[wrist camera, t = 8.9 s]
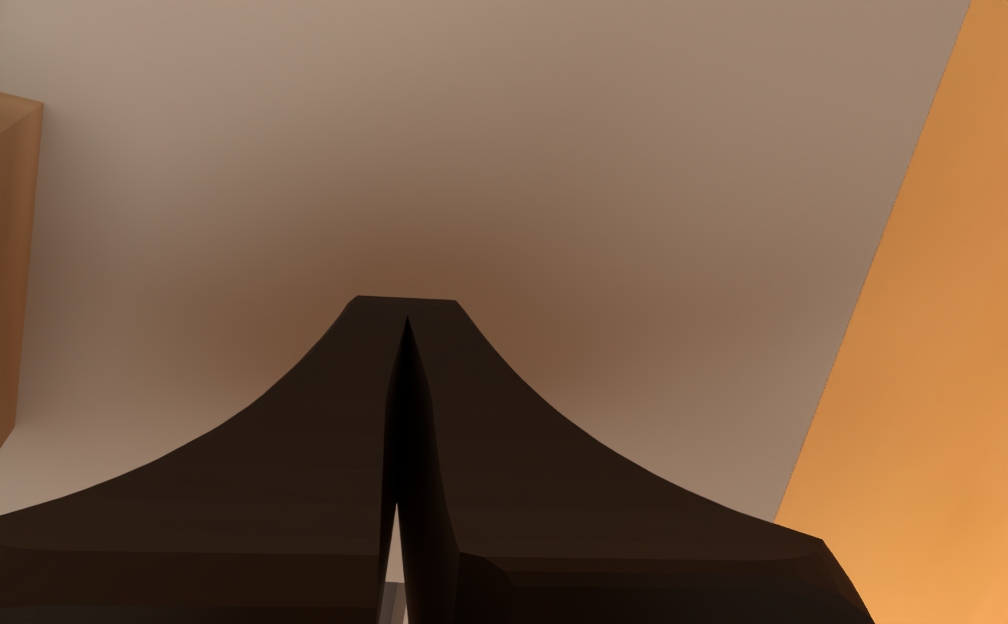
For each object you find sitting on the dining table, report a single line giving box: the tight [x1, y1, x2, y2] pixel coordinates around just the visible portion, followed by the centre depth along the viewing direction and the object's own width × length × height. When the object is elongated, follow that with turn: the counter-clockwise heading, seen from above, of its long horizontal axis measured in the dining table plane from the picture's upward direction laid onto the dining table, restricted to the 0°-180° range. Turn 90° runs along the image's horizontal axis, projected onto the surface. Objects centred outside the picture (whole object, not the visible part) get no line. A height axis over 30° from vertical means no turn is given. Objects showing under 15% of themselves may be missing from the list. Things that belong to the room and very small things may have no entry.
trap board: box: [0, 0, 971, 624], centre depth 13 cm, size 18×20×4 cm
